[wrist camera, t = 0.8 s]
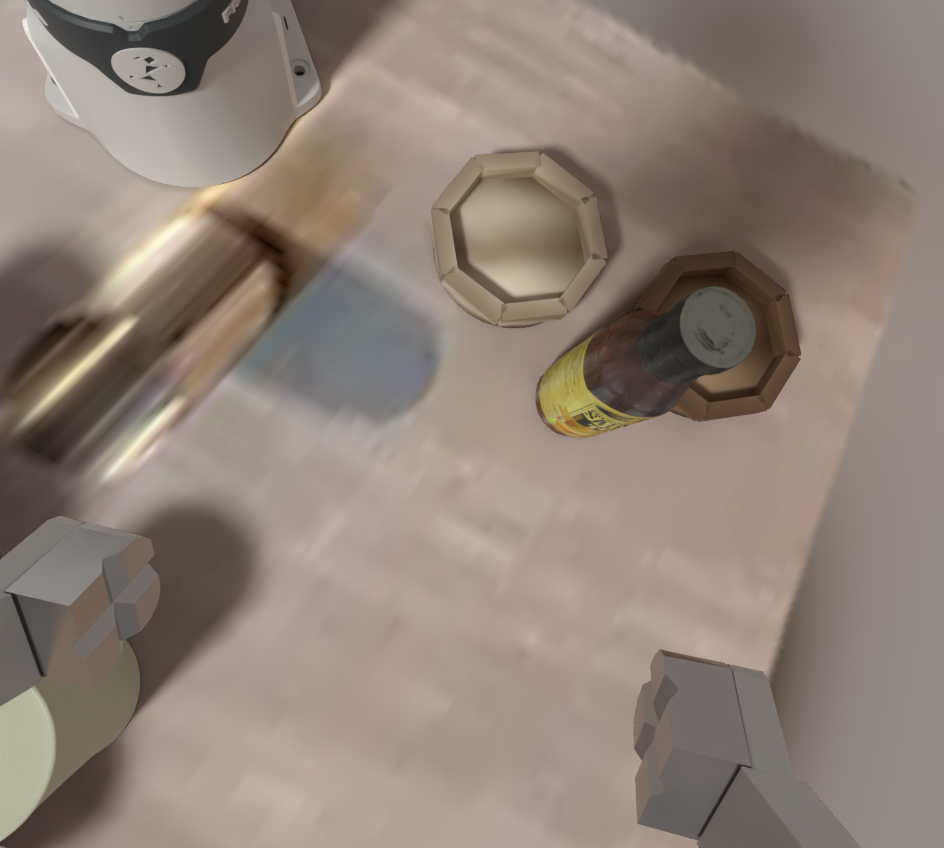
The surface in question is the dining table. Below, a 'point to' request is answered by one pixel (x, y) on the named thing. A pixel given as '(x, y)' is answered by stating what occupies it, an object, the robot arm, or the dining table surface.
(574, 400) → the sauce bottle
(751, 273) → the walnut ring seat
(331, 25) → the dining table surface
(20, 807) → the can
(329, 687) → the dining table surface
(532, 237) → the birch ring seat
